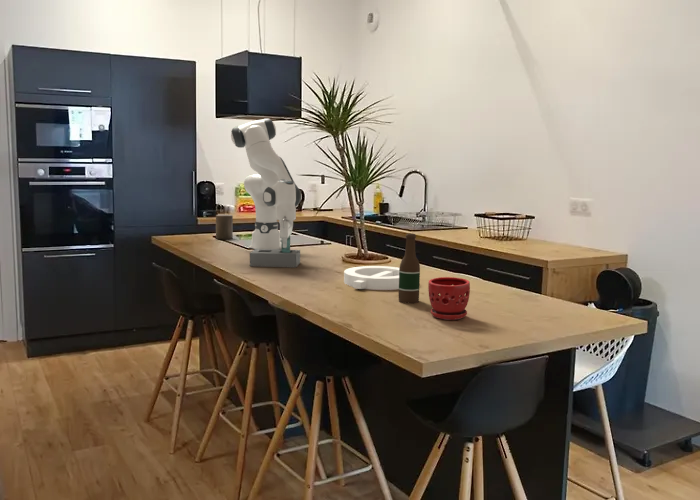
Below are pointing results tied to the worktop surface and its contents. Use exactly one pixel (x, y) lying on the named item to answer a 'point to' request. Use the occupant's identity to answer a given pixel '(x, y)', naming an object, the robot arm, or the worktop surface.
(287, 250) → the teal peg
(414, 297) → the beer bottle
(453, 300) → the plant pot
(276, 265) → the socket block
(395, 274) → the ring with crossbar
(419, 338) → the worktop surface
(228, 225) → the pillar candle
